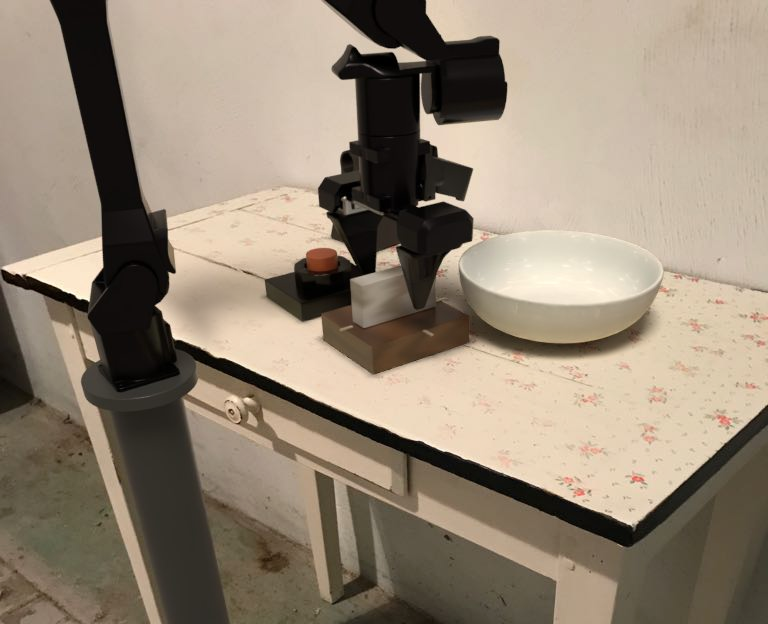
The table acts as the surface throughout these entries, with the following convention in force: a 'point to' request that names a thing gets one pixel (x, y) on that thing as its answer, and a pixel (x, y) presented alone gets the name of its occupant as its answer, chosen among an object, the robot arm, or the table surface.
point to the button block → (313, 289)
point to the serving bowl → (559, 284)
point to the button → (321, 259)
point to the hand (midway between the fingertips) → (393, 294)
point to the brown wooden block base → (396, 336)
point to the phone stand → (386, 226)
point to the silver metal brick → (383, 297)
